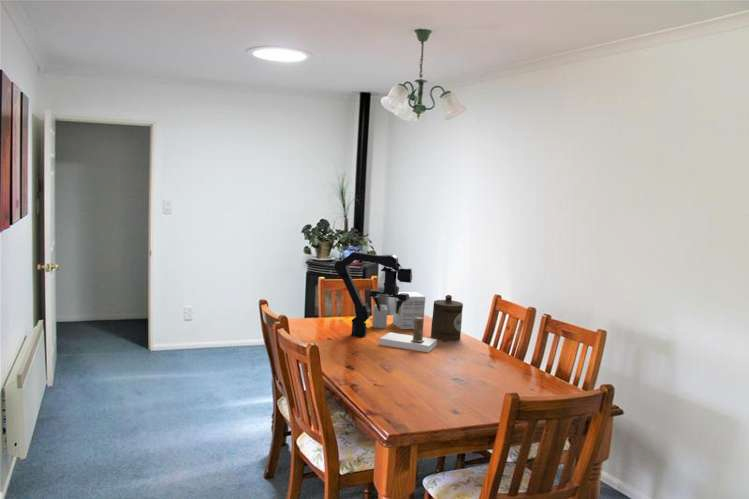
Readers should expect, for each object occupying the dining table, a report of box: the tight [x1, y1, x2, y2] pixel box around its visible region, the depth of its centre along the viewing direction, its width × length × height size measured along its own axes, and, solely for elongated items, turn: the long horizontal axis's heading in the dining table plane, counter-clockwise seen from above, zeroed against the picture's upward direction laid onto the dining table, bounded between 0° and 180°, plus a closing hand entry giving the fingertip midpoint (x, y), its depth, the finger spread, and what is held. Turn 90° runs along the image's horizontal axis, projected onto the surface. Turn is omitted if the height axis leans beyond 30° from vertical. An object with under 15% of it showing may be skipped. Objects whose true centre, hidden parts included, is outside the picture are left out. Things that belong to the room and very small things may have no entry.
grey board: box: [379, 332, 438, 353], centre depth 306 cm, size 24×14×3 cm, turn 70°
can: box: [371, 303, 388, 330], centre depth 337 cm, size 8×8×12 cm
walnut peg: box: [412, 317, 425, 343], centre depth 301 cm, size 5×5×14 cm
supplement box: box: [392, 291, 426, 330], centre depth 344 cm, size 13×13×18 cm
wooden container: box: [430, 294, 464, 342], centre depth 323 cm, size 15×15×22 cm
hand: (388, 312), depth 314 cm, fingers open, 9 cm apart
